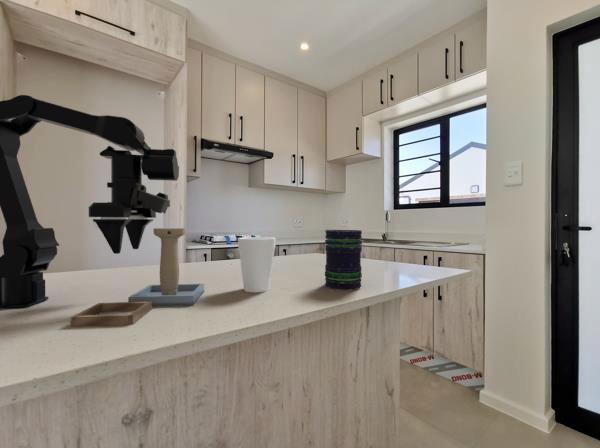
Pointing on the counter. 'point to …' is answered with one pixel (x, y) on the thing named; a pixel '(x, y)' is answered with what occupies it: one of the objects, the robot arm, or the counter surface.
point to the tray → (185, 295)
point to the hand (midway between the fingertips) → (127, 251)
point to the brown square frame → (92, 319)
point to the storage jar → (343, 259)
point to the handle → (169, 258)
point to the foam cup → (256, 262)
